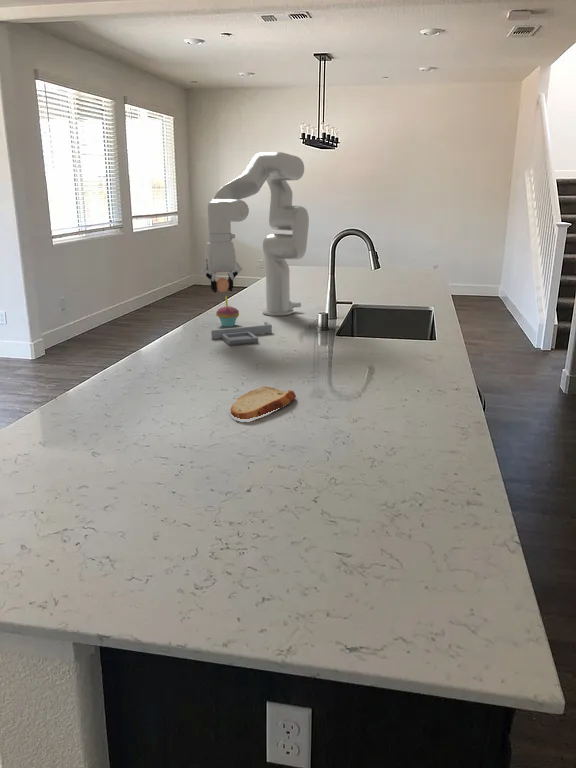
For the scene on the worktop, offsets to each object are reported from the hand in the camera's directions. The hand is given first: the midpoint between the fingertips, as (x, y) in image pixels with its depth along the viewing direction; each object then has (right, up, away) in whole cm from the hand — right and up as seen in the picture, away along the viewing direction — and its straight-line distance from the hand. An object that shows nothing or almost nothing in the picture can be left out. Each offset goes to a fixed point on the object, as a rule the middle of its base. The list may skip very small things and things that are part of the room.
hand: (222, 290), depth 225 cm
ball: (0, 0, 0) cm, 0 cm away
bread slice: (+17, -39, -68) cm, 80 cm away
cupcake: (0, -11, +17) cm, 20 cm away
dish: (+7, -18, -6) cm, 20 cm away
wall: (+6, -15, +3) cm, 16 cm away
